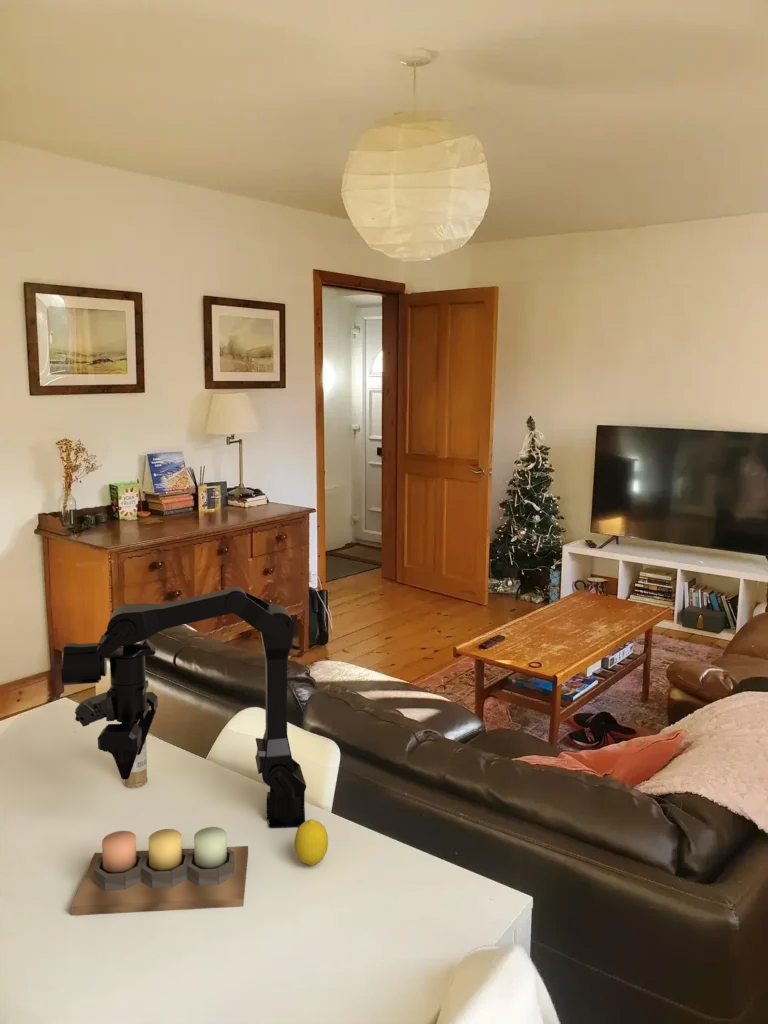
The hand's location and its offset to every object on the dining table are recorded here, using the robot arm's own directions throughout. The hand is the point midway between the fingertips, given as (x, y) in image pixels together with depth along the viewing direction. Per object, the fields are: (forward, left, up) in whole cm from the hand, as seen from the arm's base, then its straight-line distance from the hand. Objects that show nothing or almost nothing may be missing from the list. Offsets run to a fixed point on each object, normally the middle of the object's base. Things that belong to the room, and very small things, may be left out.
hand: (131, 766), depth 137 cm
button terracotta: (-1, +15, -9) cm, 17 cm away
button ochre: (-8, +15, -9) cm, 19 cm away
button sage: (-15, +15, -9) cm, 23 cm away
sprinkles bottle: (+3, -19, -13) cm, 23 cm away
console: (-8, +15, -13) cm, 21 cm away
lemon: (-31, +12, -13) cm, 35 cm away
